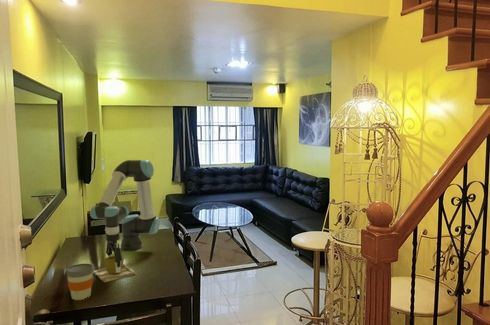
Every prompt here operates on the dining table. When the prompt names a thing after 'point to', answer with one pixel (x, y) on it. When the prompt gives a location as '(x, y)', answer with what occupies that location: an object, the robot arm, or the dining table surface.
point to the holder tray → (114, 274)
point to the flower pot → (112, 264)
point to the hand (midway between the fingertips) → (114, 269)
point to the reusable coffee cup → (80, 280)
